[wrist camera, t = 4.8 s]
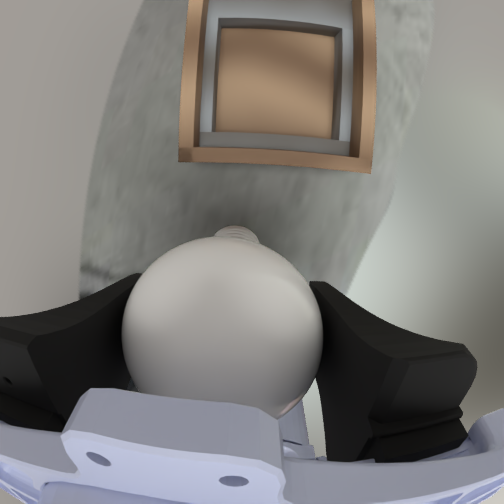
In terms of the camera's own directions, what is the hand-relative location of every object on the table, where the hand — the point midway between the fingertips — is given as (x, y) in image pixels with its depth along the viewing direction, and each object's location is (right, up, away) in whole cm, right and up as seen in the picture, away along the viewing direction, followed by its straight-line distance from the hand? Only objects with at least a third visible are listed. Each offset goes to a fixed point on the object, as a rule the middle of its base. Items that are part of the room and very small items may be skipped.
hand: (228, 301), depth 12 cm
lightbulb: (0, +2, +5) cm, 6 cm away
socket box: (+3, +15, +6) cm, 16 cm away
